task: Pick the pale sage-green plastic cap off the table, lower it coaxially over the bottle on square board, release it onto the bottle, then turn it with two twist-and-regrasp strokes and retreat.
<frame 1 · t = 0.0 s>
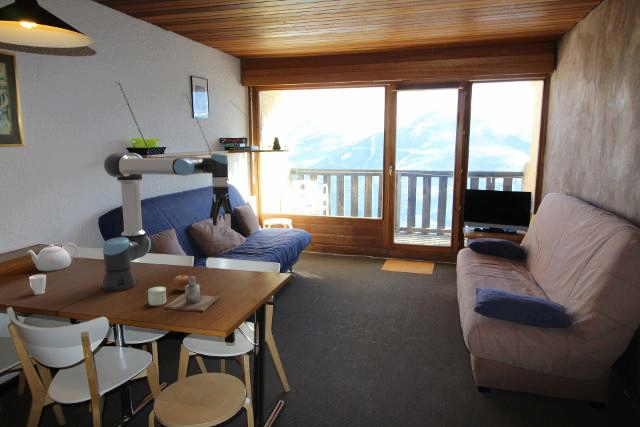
hand: (222, 229, 214), 28 cm above the table, fingers open, 13 cm apart
apple: (182, 290, 210), on the table
cup: (37, 292, 207), on the table
teapot: (54, 267, 249), on the table
cap: (157, 302, 193), on the table
bottle on square board: (193, 303, 192), on the table
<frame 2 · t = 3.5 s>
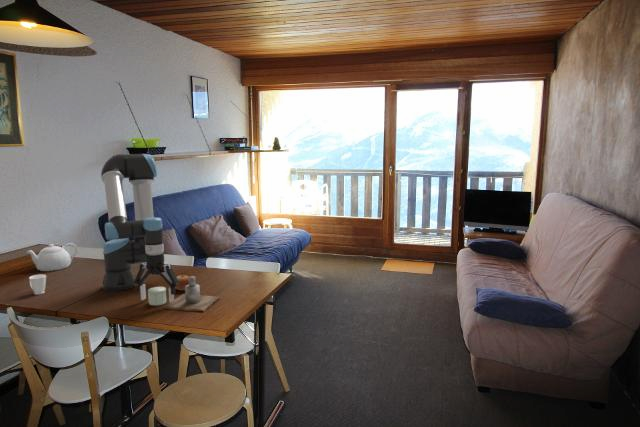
hand: (157, 300, 193), 1 cm above the table, fingers open, 13 cm apart
nothing on the table moved.
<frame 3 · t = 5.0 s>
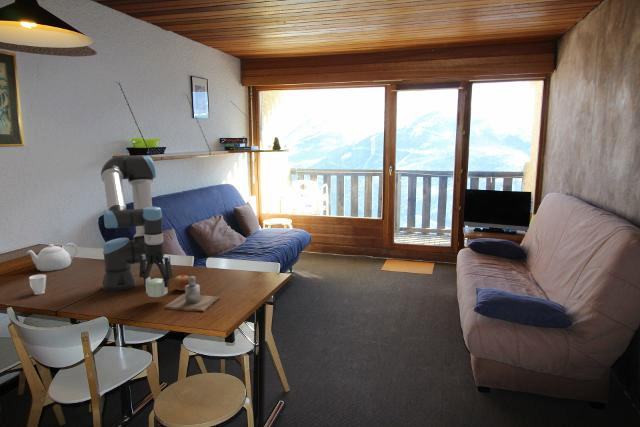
hand: (156, 293, 193), 4 cm above the table, fingers closed on cap, 7 cm apart
cap: (156, 294, 193), point 4 cm above the table, touching gripper
everything else where it was.
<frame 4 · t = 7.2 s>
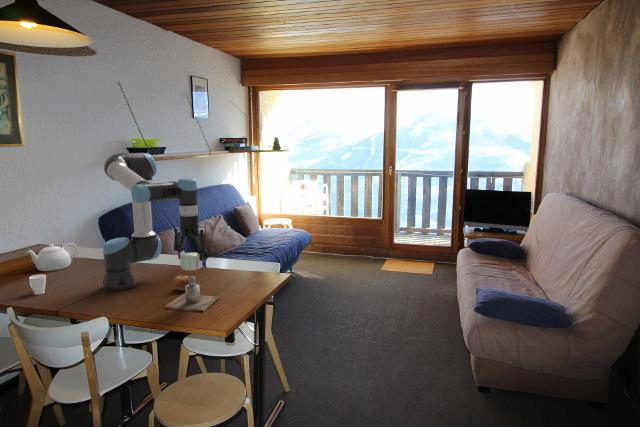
hand: (191, 267, 189), 17 cm above the table, fingers closed on cap, 7 cm apart
cap: (191, 268, 189), point 16 cm above the table, touching gripper
everything else where it was.
when the fingers open (8 cm above the table, at t = 9.4 s): cap stays where it is, resting on bottle on square board.
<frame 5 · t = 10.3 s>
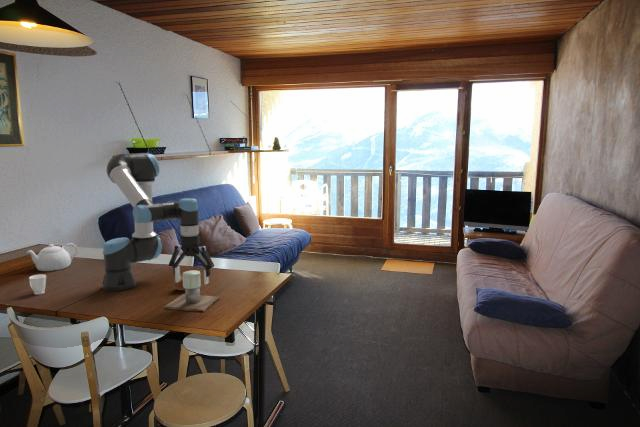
hand: (192, 282, 190), 10 cm above the table, fingers open, 13 cm apart
cap: (192, 286, 191), point 8 cm above the table, touching bottle on square board
everything else where it was.
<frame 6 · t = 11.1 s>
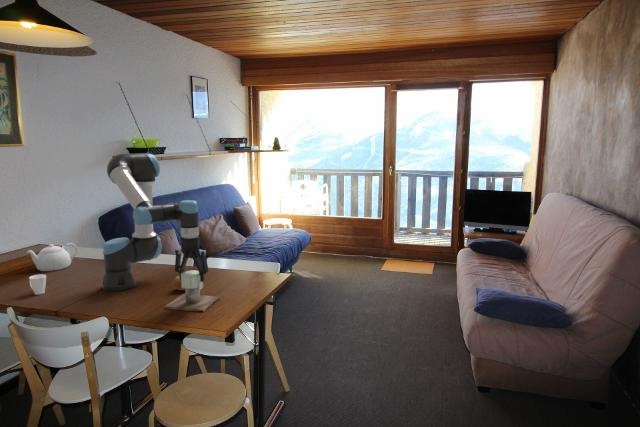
hand: (192, 287, 191), 7 cm above the table, fingers closed on cap, 7 cm apart
cap: (192, 286, 191), point 8 cm above the table, touching gripper, bottle on square board
everything else where it was.
when the fingers open (7 cm above the table, at t = 15.1 s): cap stays where it is, resting on bottle on square board.
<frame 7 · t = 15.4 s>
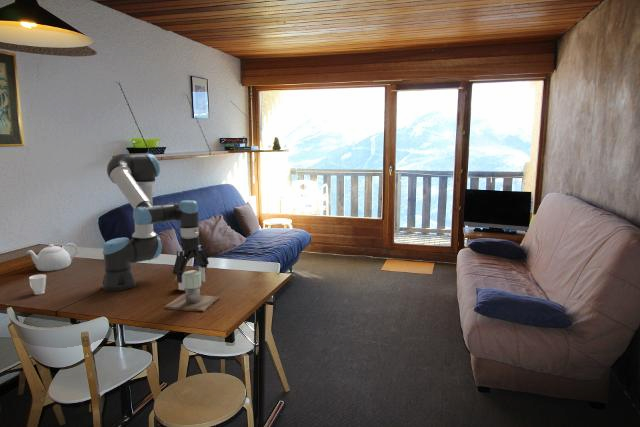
hand: (192, 285, 191), 8 cm above the table, fingers open, 12 cm apart
cap: (192, 286, 191), point 8 cm above the table, touching bottle on square board
everything else where it was.
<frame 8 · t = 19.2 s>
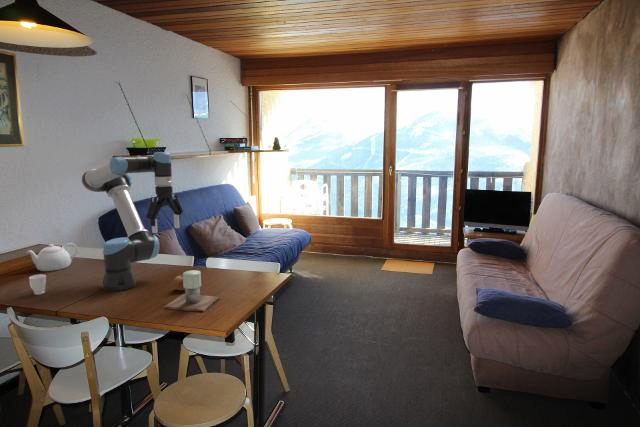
hand: (166, 230, 207), 29 cm above the table, fingers open, 13 cm apart
nothing on the table moved.
at the end: cap 0.0 cm off-centre on the bottle on square board, point 8.0 cm above the bottle on square board's base; cap tilted 0°; the gripper is holding nothing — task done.
